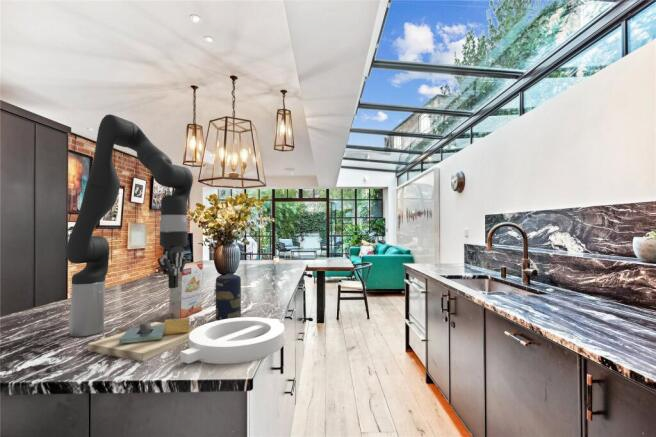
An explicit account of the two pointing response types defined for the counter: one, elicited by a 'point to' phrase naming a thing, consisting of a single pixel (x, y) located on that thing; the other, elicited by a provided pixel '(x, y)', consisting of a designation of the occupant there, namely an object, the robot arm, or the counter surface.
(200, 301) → the cracker box
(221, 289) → the canister
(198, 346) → the white circle with bar
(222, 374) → the counter surface
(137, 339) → the t-shaped piece
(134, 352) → the base board
